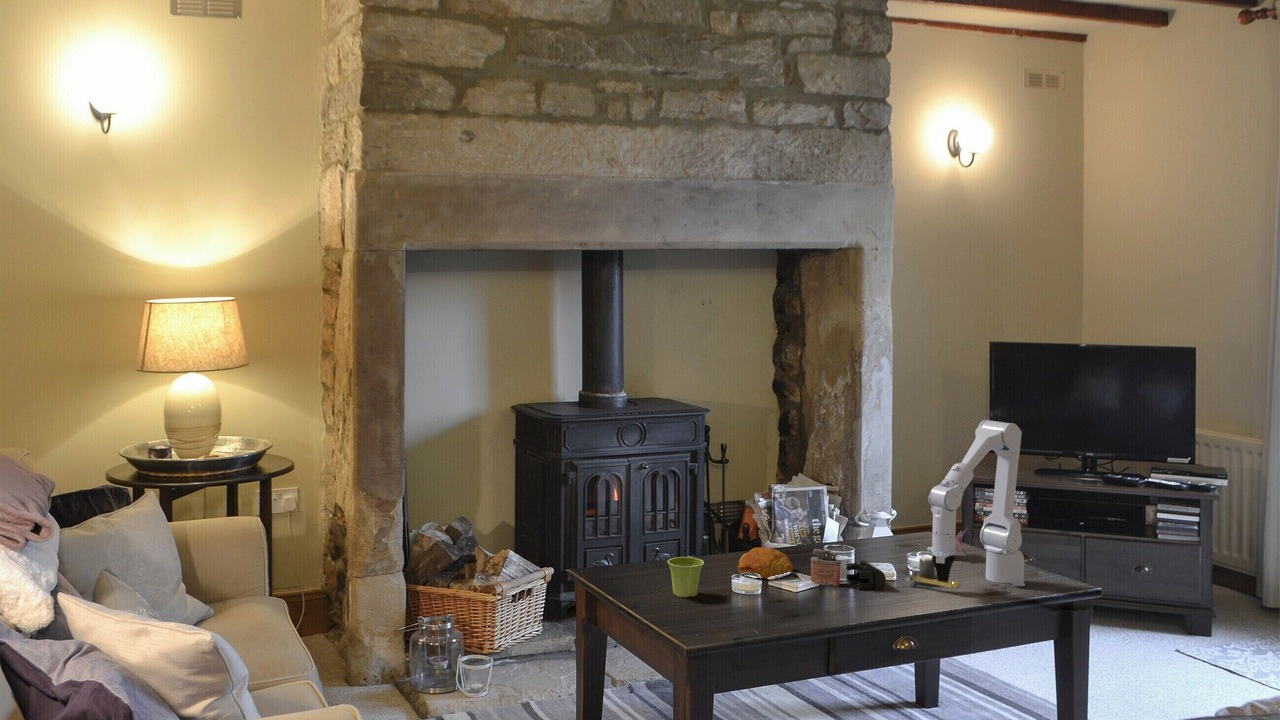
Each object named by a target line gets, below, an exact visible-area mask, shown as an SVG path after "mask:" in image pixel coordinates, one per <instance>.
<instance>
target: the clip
mask: <svg viewBox="0 0 1280 720" xmlns="http://www.w3.org/2000/svg"><path fill="white" fill-rule="evenodd" d="M917 573H918V571H917V570H909V578H910V583H909V587H910V588H916V587H917V581H919V582H924V583H929V584H935V585H940V586H945V587H944V588H950V589H951V588H953V589H959V587H960V585H959V584H960V582H959V581H957V580H952V581H948V582H946V581H941V580H936V579H930V578H925V577H919V576H917Z"/></svg>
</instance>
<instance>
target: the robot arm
mask: <svg viewBox="0 0 1280 720" xmlns="http://www.w3.org/2000/svg"><path fill="white" fill-rule="evenodd" d="M974 434H975V439H974V441H973V443H972V444H971V446H970V447H969V449H968V451H967V453H966V454H965V456H964V457H963V458H962V461H961V462H958V463H954V464H953V465H952V467H950V470H949V471H948V472H947V474H946V476H944V478H943V480H942V481H941V483H939V484H937V485H935V486H934V487H931V490H930V492H929V495H928V496H927V500H928V504H929V505H930V511H931V513H932V539H931V540H932V541H931V542H932V543H931V544H932V545H931V546H927V552H931V553H932V554H933V555H932V556H931V558H932V561H933V563H934V565H935V573H936V575H937V579H938V580H941V581H946V582H949V578H950V573H951V569H952V566H953V563H954V562H955V560H956V556H955V554H956V553H957V551H956V550H957V549H955V538H956V532H957V531H956V526H957V525H956V524H957V521H956V519H957V518H956V517H957V509H958V508H959V507H960V506H961V503H962V500H963V499H962V498H963V496H964V491H965V489H967V487H968V486H969V484H970V482H971V481H972V480H973V479H974V472H973V471H974V470H975V468H976V467H977V466H978V464H979V463H981V461H982V460H983V459H984V457H985V456H986V455H987V454H988V453H989V452H990V451H994V453H995V454H996V455H997V461H996V471H995V480H994V481H995V482H994V490H993V500H992V510H991V513H990V514H989V515H987V516H986V517H985V518H983V525H982V527H981V529H980V532H979V539H980V542H981V544H982V545H983V547H984V549H985V550H986V551H985V552H986V553H985V557H986V558H985V579H986V580H987V581H990V582H993V583H1001V584H1011V585H1012V586H1014V587H1025V586H1026V584H1025V558H1024V554H1023V553H1022V551H1021V550H1019V549H1020V547H1021V545H1022V543H1023V536H1022V532H1021V530H1022V525H1021V523H1020V521H1018V520H1017V519H1016V518H1015V517H1014V506H1015V497H1016V488H1017V481H1018V480H1017V479H1018V469H1019V461H1020V460H1019V459H1020V452H1021V444H1022V434H1023V431H1022V430H1021V429H1020V427H1019V426H1018V425H1017V424H1016V423H1013V422H1003V421H995V420H990V419H983V420H982V421H980V423H979V424H978V427H976V429H975V433H974Z"/></svg>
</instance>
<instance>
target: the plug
mask: <svg viewBox="0 0 1280 720" xmlns="http://www.w3.org/2000/svg"><path fill="white" fill-rule="evenodd" d="M918 563H919V566H918V567H919V568H918V570H919V571H918V572H917V576H919V577H925V578H930V579H936V580H938V579H937V573H936V568H935V565H934V563H933V561H932V556H921V557H920V559H919V562H918ZM935 573H936V574H935ZM917 585H920V586H927V587H930V588H935V587H934V586H940V585H935V584H929V583H924V582H919V581H917Z"/></svg>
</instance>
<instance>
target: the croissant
mask: <svg viewBox="0 0 1280 720" xmlns="http://www.w3.org/2000/svg"><path fill="white" fill-rule="evenodd" d="M793 566H794V565H793V563H792V561H791V559H790V558H789V556H788V555H787V554H785V553H783V552H781V551H780V550H778V549H774V548H767V547H760V546H757V547H753V548H752V549H750V550H749V551H748V552H746V553H744V554H743V555H742V556H741V557H740V558H739V561H738V566H737V572H739V573H744V572H750V573H757V574H760V575H761V577H762V578H768V577H770V576H775V575H780V574H784V573H787V572H792V573H793V570H794V567H793ZM739 573H738V574H739Z"/></svg>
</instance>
